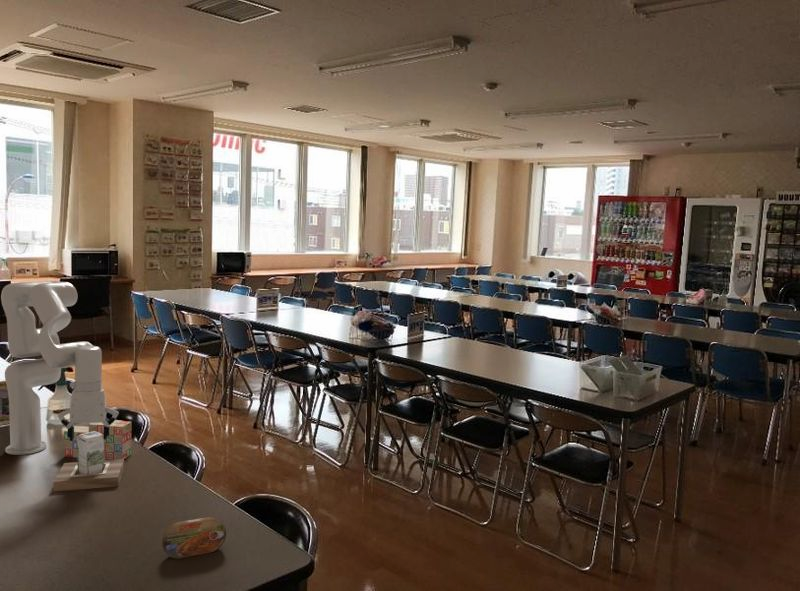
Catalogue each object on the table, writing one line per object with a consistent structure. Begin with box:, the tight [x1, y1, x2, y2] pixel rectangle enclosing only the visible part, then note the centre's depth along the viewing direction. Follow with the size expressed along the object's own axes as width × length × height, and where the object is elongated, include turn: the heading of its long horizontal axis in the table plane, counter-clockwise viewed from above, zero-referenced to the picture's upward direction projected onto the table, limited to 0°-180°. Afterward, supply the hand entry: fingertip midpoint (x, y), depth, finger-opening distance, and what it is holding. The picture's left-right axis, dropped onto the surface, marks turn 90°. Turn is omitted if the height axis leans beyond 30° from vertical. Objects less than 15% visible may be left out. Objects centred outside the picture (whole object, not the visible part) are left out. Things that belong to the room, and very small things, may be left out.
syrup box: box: [76, 431, 104, 475], centre depth 205 cm, size 6×6×14 cm
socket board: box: [52, 459, 125, 492], centre depth 205 cm, size 16×18×3 cm
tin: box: [161, 516, 227, 559], centre depth 161 cm, size 15×3×8 cm, turn 114°
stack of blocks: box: [63, 419, 133, 460], centre depth 225 cm, size 21×6×12 cm, turn 83°
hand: (88, 438), depth 204 cm, fingers open, 9 cm apart
